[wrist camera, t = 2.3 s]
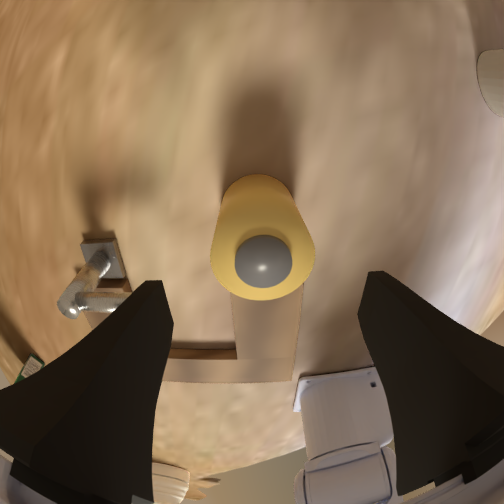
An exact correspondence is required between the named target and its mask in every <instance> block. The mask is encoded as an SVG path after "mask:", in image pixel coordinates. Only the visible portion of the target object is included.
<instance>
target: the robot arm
mask: <svg viewBox="0 0 504 504" xmlns="http://www.w3.org/2000/svg"><path fill="white" fill-rule="evenodd" d="M357 315H358V319H359V323H360V327H361V330H362V334H363V337H364V340H365V343H366V345H367V348H368V350H369V352H370V355H371V357H372V360H373V362H374V365H375V367H370V368H365V369H359V370H353V371H347V372H340V373H333V374H326V375H318V376H308V377H302V378H300V379H299V382H298V387H297V392H296V397H295V401H294V406H293V411H294V412H301V414H302V421H303V428H304V435H305V442H306V449H307V457H308V461H306V462H304V465H305V469H301V470H300V471H299V473H298V474H297V475H296V477H295V480H294V495H295V502H296V504H373V503H376V502H378V503H376V504H504V347H503V346H501V345H498V344H496V343H494V342H492V341H490V340H487V339H486V338H484V337H482V336H480V335H478V334H476V333H474V332H473V331H471V330H469V329H468V328H466V327H464V326H462V325H461V324H459V323H457V322H456V321H454V320H453V319H451V318H450V317H448V316H447V315H445V314H444V313H442V312H441V311H439V310H438V309H437V308H435V307H434V306H432V305H431V304H430V303H428V302H427V301H425V300H424V299H423V298H421V297H420V296H419V295H417V294H416V293H415V292H413V291H412V290H411V289H409V288H408V287H406V286H405V285H404V284H402V283H401V282H400V281H398V280H397V279H395V278H394V277H392V276H391V275H389V274H388V273H386V272H384V271H373V272H368V276H367V280H366V284H365V288H364V292H363V296H362V300H361V303H360V307H359V310H358V314H357ZM173 325H174V322H173V319H172V315H171V312H170V308H169V305H168V301H167V298H166V294H165V290H164V286H163V283H162V280H149V281H145V282H144V283H142V284H141V285H140V286H139V287H138V288H137V289H136V290H135V291H134V292H133V293H132V294H131V295H130V296H129V297H127V298H126V299H125V300H124V301H123V302H122V303H121V304H120V305H119V306H118V307H117V308H116V309H115V310H114V311H113V312H112V313H111V314H110V315H109V316H108V317H107V318H106V319H104V320H103V321H102V322H101V323H100V324H99V325H98V326H97V327H96V328H94V329H93V330H92V331H91V332H90V333H89V334H88V335H87V336H86V337H84V338H83V339H82V340H81V341H80V342H78V343H77V344H76V345H74V346H73V347H72V348H71V349H69V350H68V351H67V352H65V353H64V354H63V355H61V356H60V357H58V358H57V359H55V360H54V361H52V362H51V363H49V364H48V365H46V366H45V367H43V368H42V369H40V370H39V371H37V372H35V373H33V374H32V375H30V376H28V377H26V378H25V379H23V380H21V381H19V382H17V383H15V384H13V385H11V386H8V387H6V388H4V389H2V390H0V449H2V450H3V451H5V452H6V453H7V454H9V455H10V456H12V457H13V458H14V460H13V463H12V462H10V461H9V460H7V459H6V458H5V457H3V456H2V455H0V504H153V503H154V497H153V483H152V444H153V428H154V418H155V409H156V404H157V399H158V395H159V391H160V386H161V383H162V379H163V375H164V371H165V367H166V363H167V359H168V355H169V352H170V347H171V341H172V333H173ZM393 437H394V442H395V453H396V456H395V453H394V451H393V450H392V449H391V448H388V447H387V446H385V445H387V444H389V443H390V442H391V441H392V439H393ZM382 446H383V447H382ZM380 447H381V448H380ZM433 481H434V482H435V486H436V487H435V488H433V489H431V490H429V491H427V492H425V493H423V494H421V495H418V496H416V497H414V498H411V499H409V500H407V501H404V502H403V495H404V494H407V493H409V492H411V491H414V490H416V489H419V488H421V487H423V486H425V485H427V484H429V483H431V482H433Z"/></svg>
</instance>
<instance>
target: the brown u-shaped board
mask: <svg viewBox="0 0 504 504" xmlns="http://www.w3.org/2000/svg"><path fill="white" fill-rule="evenodd" d="M303 286H304V283H303V284H302V285H300V286H299V287H298V288H297V289H296V290H294V291H293V292H291V293H289V294H287V295H285V296H283V297H280V298H276V299H272V300H250V299H245V298H242V297H239V296H237V295H235V294H233V293H231V292H230V294H231V304H232V314H233V323H234V333H235V342H236V349H225V350H205V349H170V352H169V355H168V359H167V363H166V367H165V371H164V375H163V379H162V381H171V382H187V383H264V382H281V381H292V374H293V368H294V361H295V354H296V346H297V339H298V331H299V323H300V314H301V305H302V296H303ZM94 292H130V293H132V290H131V287H130V284H129V281H128V279H101V281H100V282H99V284H98V285H97V287H96V288H95V290H94ZM83 312H84V314H85V316H86V318H87V320H88V322H89V324H90V326H91V328H92V330H93V329H94V328H96V327H97V326H98V325H99V324H100V323H101V322H102V321H103V320H104V319H106V318H107V317H108V316H109V315H110V314H111V313H100V312H86V311H83Z"/></svg>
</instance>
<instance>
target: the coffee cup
mask: <svg viewBox="0 0 504 504" xmlns="http://www.w3.org/2000/svg"><path fill="white" fill-rule="evenodd" d="M477 76H478V82H479V86H480V89H481V92H482V95H483V98H484V99H485V101H486V103H487V105H488V106H489V108H490V109H491V110H492V111H493V112H494V113H495V114H497V115H498V116H501V117H504V49H497V50H488V51H484V52H482V53H481V55H480V56H479V59H478V63H477Z"/></svg>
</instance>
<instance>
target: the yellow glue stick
mask: <svg viewBox="0 0 504 504" xmlns="http://www.w3.org/2000/svg"><path fill="white" fill-rule="evenodd" d="M314 260H315V248H314V243H313V240H312V238H311V236H310V234H309V231H308V229H307V227H306V225H305V223H304V221H303V219H302V217H301V215H300V213H299V211H298V208H297V206H296V204H295V202H294V200H293V198H292V196H291V194H290V192H289V191H288V189H287V188H286V186H285V185H284V184H283V183H281V182H280V181H279V180H277V179H276V178H273V177H271V176H268V175H263V174H252V175H247V176H245V177H242V178H240V179H238V180H237V181H235V182H234V183H233V184H232V185H231V186H230V187H229V188H228V189H227V191H226V192H225V194H224V196H223V200H222V203H221V207H220V212H219V216H218V220H217V225H216V229H215V233H214V238H213V242H212V247H211V253H210V262H211V267H212V270H213V273H214V275H215V276H216V278H217V280H218V281H219V282H220V283H221V284H222V285H223V287H225V288H226V289H227V290H228V291H230V292H231V293H233V294H235V295H237V296H239V297H242V298H245V299H250V300H272V299H276V298H280V297H283V296H285V295H287V294H289V293H291V292H293V291H294V290H296V289H297V288H298V287H299V286H300V285H302V284H303V282H304V281H305V280H306V279H307V277H308V276H309V274H310V272H311V270H312V268H313V265H314Z"/></svg>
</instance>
